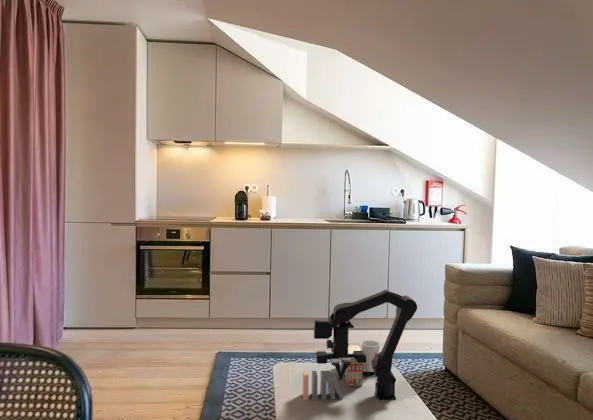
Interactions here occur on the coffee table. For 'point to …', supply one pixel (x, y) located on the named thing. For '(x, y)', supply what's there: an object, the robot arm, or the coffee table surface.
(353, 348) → the stack of blocks
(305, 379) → the domino
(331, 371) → the domino
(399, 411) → the coffee table surface
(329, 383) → the domino
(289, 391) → the coffee table surface
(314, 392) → the domino
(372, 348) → the cup
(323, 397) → the domino
